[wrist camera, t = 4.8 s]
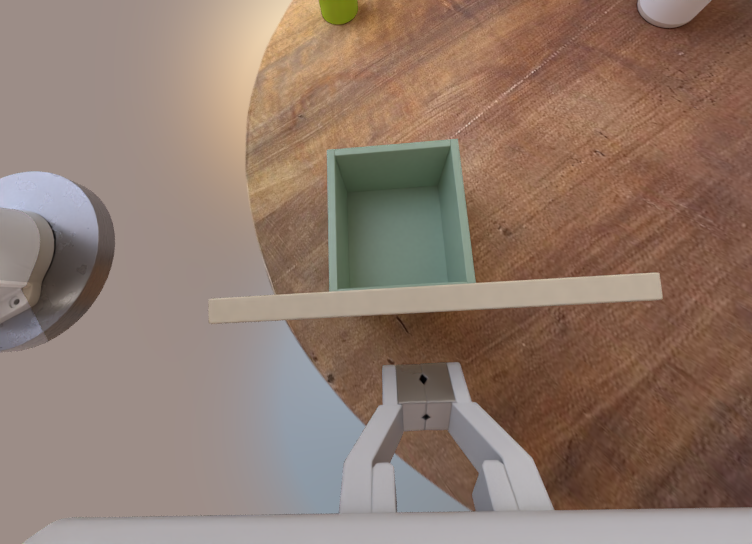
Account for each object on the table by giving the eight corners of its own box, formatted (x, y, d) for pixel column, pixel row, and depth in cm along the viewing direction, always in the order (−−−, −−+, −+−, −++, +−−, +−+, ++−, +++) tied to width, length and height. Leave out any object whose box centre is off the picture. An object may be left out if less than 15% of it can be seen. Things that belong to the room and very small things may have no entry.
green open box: (342, 190, 37) (326, 149, 28) (442, 182, 36) (457, 138, 28) (345, 305, 34) (329, 297, 25) (455, 298, 33) (476, 289, 25)
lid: (207, 298, 8) (207, 324, 8) (660, 272, 8) (664, 299, 8) (327, 293, 25) (328, 301, 25) (478, 284, 24) (478, 293, 24)
